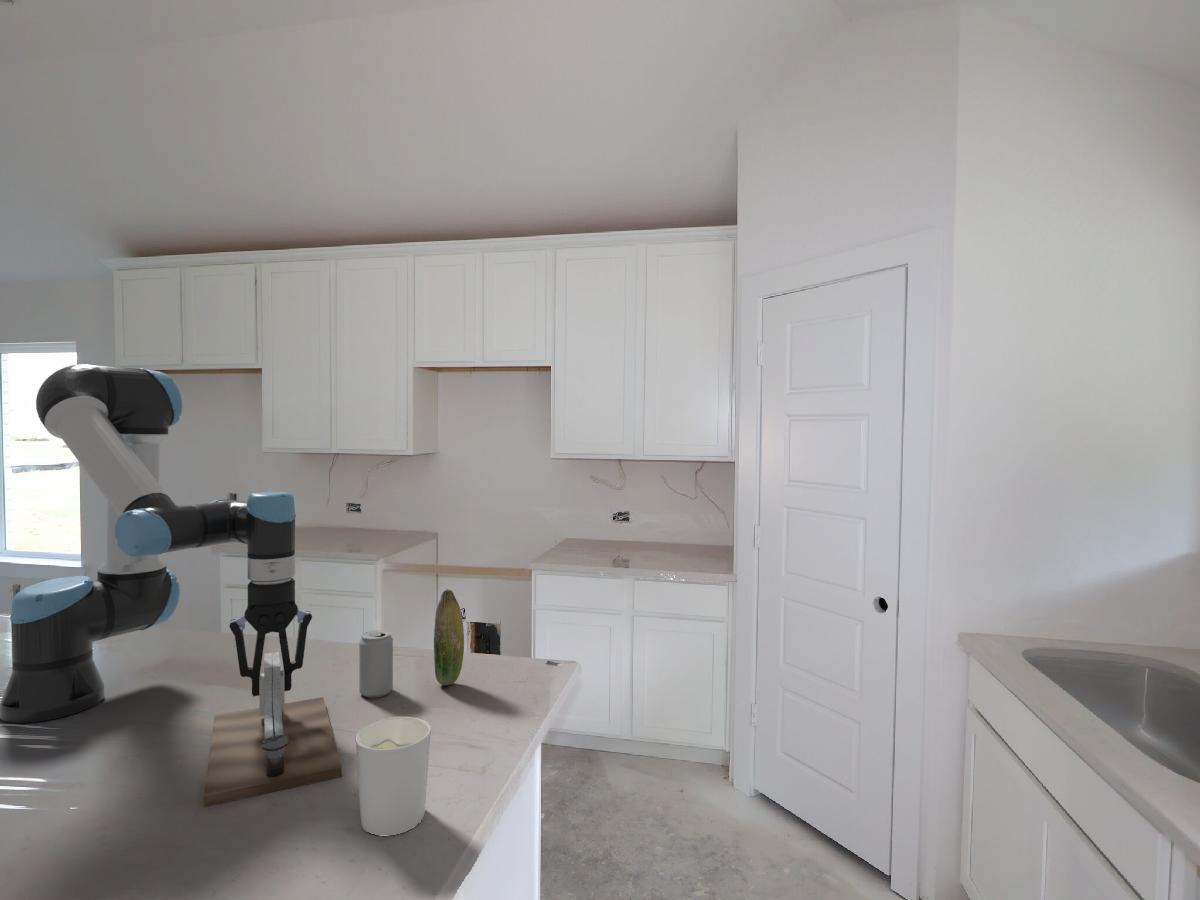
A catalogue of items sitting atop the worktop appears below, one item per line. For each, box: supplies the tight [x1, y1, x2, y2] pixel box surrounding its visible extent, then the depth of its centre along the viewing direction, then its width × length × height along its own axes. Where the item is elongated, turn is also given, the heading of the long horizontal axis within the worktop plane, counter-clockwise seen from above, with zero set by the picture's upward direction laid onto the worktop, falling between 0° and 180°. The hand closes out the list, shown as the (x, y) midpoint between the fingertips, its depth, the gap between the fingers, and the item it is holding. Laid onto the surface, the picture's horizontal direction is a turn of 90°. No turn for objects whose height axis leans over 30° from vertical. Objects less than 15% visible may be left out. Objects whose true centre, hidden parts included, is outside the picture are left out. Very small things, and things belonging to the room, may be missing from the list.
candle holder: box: [355, 716, 432, 836], centre depth 89 cm, size 10×10×12 cm
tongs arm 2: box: [270, 651, 285, 762], centre depth 110 cm, size 23×1×10 cm, turn 28°
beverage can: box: [358, 629, 394, 699], centre depth 131 cm, size 6×6×12 cm
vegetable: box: [433, 588, 465, 686], centre depth 135 cm, size 6×6×20 cm
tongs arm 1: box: [263, 652, 273, 766], centre depth 109 cm, size 23×1×10 cm, turn 28°
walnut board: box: [203, 696, 342, 808], centre depth 108 cm, size 29×18×2 cm, turn 28°
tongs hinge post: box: [262, 735, 289, 777], centre depth 97 cm, size 4×4×5 cm
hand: (271, 710), depth 116 cm, fingers open, 2 cm apart
